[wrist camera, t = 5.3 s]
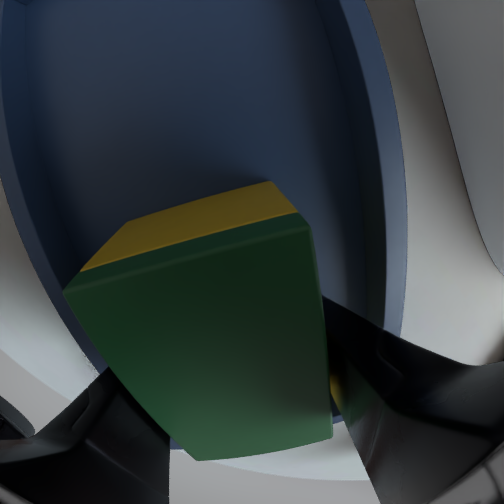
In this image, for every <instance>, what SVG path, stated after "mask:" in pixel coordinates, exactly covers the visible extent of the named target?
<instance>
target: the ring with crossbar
mask: <svg viewBox="0 0 504 504" xmlns="http://www.w3.org/2000/svg"><path fill="white" fill-rule="evenodd" d="M414 1H415V5H416V8H417V12H418V15H419V19H420V22H421V26H422V29H423V33H424V36H425V39H426V43H427V46H428V50H429V53H430V57H431V60H432V63H433V67H434V70H435V74H436V78H437V81H438V85H439V88H440V92H441V95H442V99H443V103H444V106H445V110H446V113H447V117H448V121H449V125H450V129H451V132H452V136H453V139H454V143H455V147H456V151H457V155H458V158H459V162H460V166H461V170H462V174H463V177H464V181H465V184H466V188H467V192H468V195H469V199H470V202H471V205H472V209H473V212H474V215H475V218H476V221H477V225H478V228H479V230H480V233H481V236H482V239H483V241H484V244H485V246H486V248H487V251H488V253H489V255H490V257H491V258H492V260H493V262H494V264H495V265H496V267H497V268H498V269H499V271H500V272H501V273H502V274H503V275H504V0H414Z"/></svg>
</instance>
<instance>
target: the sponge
mask: <svg viewBox="0 0 504 504" xmlns="http://www.w3.org/2000/svg"><path fill="white" fill-rule="evenodd" d="M63 296H64V297H65V299H66V301H67V303H68V305H69V306H70V308H71V310H72V311H73V313H74V315H75V316H76V318H77V320H78V321H79V323H80V325H81V326H82V328H83V329H84V331H85V332H86V334H87V336H88V337H89V339H90V340H91V342H92V343H93V345H94V346H95V347H96V349H97V350H98V352H99V353H100V355H101V356H102V357H103V359H104V360H105V362H106V363H107V364H108V366H109V367H110V368H111V370H112V371H113V372H114V374H115V375H116V376H117V377H118V379H119V380H120V381H121V383H122V384H123V385H124V386H125V387H126V389H127V390H128V391H129V392H130V394H131V395H132V396H133V397H134V398H135V399H136V401H137V402H138V403H139V404H140V405H141V406H142V407H143V409H144V410H145V411H146V412H147V413H148V414H149V415H150V416H151V417H152V418H153V419H154V421H155V422H156V423H157V424H158V425H159V426H160V427H161V428H162V429H163V430H164V431H165V432H166V433H167V434H168V435H169V436H170V437H171V438H172V439H173V440H174V441H175V442H176V443H177V444H178V445H179V446H181V447H182V448H183V449H184V450H185V451H186V452H187V453H188V454H189V455H190V456H192V457H193V458H194V459H195V460H197V461H205V460H218V459H229V458H238V457H245V456H252V455H259V454H265V453H271V452H276V451H281V450H286V449H291V448H295V447H299V446H304V445H308V444H312V443H315V442H319V441H323V440H326V439H330V438H332V437H333V420H332V401H331V385H330V372H329V360H328V349H327V339H326V329H325V320H324V311H323V303H322V295H321V288H320V280H319V273H318V266H317V259H316V253H315V247H314V240H313V234H312V228H311V227H310V225H309V224H308V223H307V221H306V220H305V219H304V218H303V217H302V215H301V214H300V213H299V212H298V211H297V210H296V208H295V207H294V206H293V205H292V204H291V203H290V201H289V200H288V199H287V198H286V197H285V196H284V195H283V193H282V192H281V191H280V190H279V189H278V188H277V187H276V185H275V184H274V183H273V182H272V181H266V182H262V183H258V184H254V185H250V186H246V187H242V188H239V189H235V190H231V191H227V192H223V193H220V194H216V195H213V196H209V197H205V198H202V199H198V200H195V201H192V202H188V203H185V204H182V205H178V206H175V207H172V208H168V209H165V210H162V211H159V212H156V213H153V214H149V215H146V216H143V217H140V218H137V219H134V220H131V221H128V222H126V223H125V224H124V225H123V226H122V227H121V228H120V229H119V230H118V231H117V232H116V233H115V234H114V235H113V236H112V237H111V238H110V239H109V240H108V241H107V242H106V243H105V244H104V245H103V246H102V247H101V248H100V250H99V251H98V252H97V253H96V254H95V255H94V256H93V257H92V258H91V259H90V260H89V261H88V262H87V263H86V265H85V266H84V267H83V268H82V269H81V270H80V272H78V273H77V275H76V276H75V277H74V278H73V279H72V280H71V281H70V283H69V284H68V285H67V286H66V287H65V288H64V290H63Z"/></svg>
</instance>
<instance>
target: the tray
mask: <svg viewBox="0 0 504 504" xmlns="http://www.w3.org/2000/svg"><path fill="white" fill-rule="evenodd" d="M0 176H1V180H2V184H3V187H4V191H5V194H6V197H7V201H8V204H9V207H10V210H11V213H12V216H13V218H14V221H15V224H16V227H17V229H18V232H19V234H20V237H21V239H22V242H23V244H24V247H25V249H26V251H27V253H28V256H29V258H30V260H31V262H32V264H33V267H34V269H35V271H36V273H37V275H38V277H39V279H40V281H41V283H42V285H43V287H44V289H45V290H46V292H47V294H48V296H49V298H50V300H51V301H52V303H53V305H54V307H55V308H56V310H57V312H58V314H59V315H60V317H61V319H62V320H63V322H64V323H65V325H66V327H67V328H68V330H69V331H70V333H71V334H72V336H73V337H74V339H75V340H76V342H77V343H78V345H79V346H80V348H81V349H82V351H83V352H84V353H85V355H86V356H87V358H88V359H89V360H90V362H91V363H92V364H93V366H94V367H95V368H96V370H97V371H98V372H99V374H101V373H102V372H103V371H104V370H105V369H106V368H107V367H108V364H107V363H106V362H105V360H104V359H103V357H102V356H101V355H100V353H99V352H98V350H97V349H96V347H95V346H94V345H93V343H92V342H91V340H90V339H89V337H88V336H87V334H86V332H85V331H84V329H83V328H82V326H81V325H80V323H79V321H78V320H77V318H76V316H75V315H74V313H73V311H72V310H71V308H70V306H69V305H68V303H67V301H66V299H65V297H64V296H63V290H64V288H65V287H66V286H67V285H68V284H69V283H70V281H71V280H72V279H73V278H74V277H75V276H76V275H77V273H78V272H80V270H81V269H82V268H83V267H84V266H85V265H86V263H87V262H88V261H89V260H90V259H91V258H92V257H93V256H94V255H95V254H96V253H97V252H98V251H99V250H100V248H101V247H102V246H103V245H104V244H105V243H106V242H107V241H108V240H109V239H110V238H111V237H112V236H113V235H114V234H115V233H116V232H117V231H118V230H119V229H120V228H121V227H122V226H123V225H124V224H125V223H126V222H128V221H131V220H134V219H137V218H140V217H143V216H146V215H149V214H153V213H156V212H159V211H162V210H165V209H168V208H172V207H175V206H178V205H182V204H185V203H188V202H192V201H195V200H198V199H202V198H205V197H209V196H213V195H216V194H220V193H223V192H227V191H231V190H235V189H239V188H242V187H246V186H250V185H254V184H258V183H262V182H266V181H272V182H273V183H274V184H275V185H276V187H277V188H278V189H279V190H280V191H281V192H282V193H283V195H284V196H285V197H286V198H287V199H288V200H289V201H290V203H291V204H292V205H293V206H294V207H295V208H296V210H297V211H298V212H299V213H300V214H301V215H302V217H303V218H304V219H305V220H306V221H307V223H308V224H309V225H310V227H311V228H312V234H313V240H314V247H315V253H316V259H317V266H318V273H319V280H320V288H321V294H322V295H323V296H325V297H327V298H329V299H331V300H332V301H334V302H336V303H338V304H340V305H341V306H343V307H345V308H347V309H349V310H350V311H352V312H354V313H356V314H358V315H360V316H361V317H363V318H365V319H367V320H369V321H370V322H372V323H374V324H376V325H378V326H379V327H381V328H383V329H384V330H387V331H389V332H391V333H392V334H394V335H396V336H398V337H400V333H401V326H402V317H403V309H404V298H405V286H406V270H407V198H406V182H405V170H404V160H403V151H402V143H401V136H400V129H399V123H398V117H397V111H396V106H395V101H394V96H393V91H392V87H391V83H390V78H389V74H388V70H387V66H386V63H385V59H384V55H383V52H382V49H381V45H380V42H379V39H378V36H377V33H376V30H375V27H374V24H373V21H372V18H371V16H370V13H369V10H368V8H367V5H366V3H365V0H0ZM331 401H332V420H333V424H335V423H338V422H341V421H344V420H343V418H342V416H341V414H340V411H339V409H338V407H337V405H336V403H335V401H334V398H333V396H332V394H331ZM170 449H183V448H182V447H181V446H179V445H178V444H177V443H176V442H175V441H174V440H173V439H172V438H171V437H170Z"/></svg>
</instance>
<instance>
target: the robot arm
mask: <svg viewBox="0 0 504 504" xmlns="http://www.w3.org/2000/svg"><path fill="white" fill-rule="evenodd" d="M321 295H322V294H321ZM322 303H323V311H324V320H325V329H326V339H327V349H328V360H329V372H330V385H331V394H332V396H333V398H334V401H335V403H336V405H337V407H338V409H339V411H340V414H341V416H342V418H343V420H344V422H345V425H346V427H347V429H348V431H349V433H350V436H351V438H352V440H353V442H354V445H355V447H356V449H357V451H358V453H359V456H360V458H361V460H362V462H363V465H364V467H365V469H366V472H367V474H368V476H369V478H370V481H371V483H372V485H373V487H374V490H375V492H376V494H377V496H378V499H379V501H380V503H381V504H504V361H501V362H497V363H492V364H487V365H481V366H473V365H467V364H463V363H460V362H457V361H454V360H452V359H449V358H447V357H444V356H441V355H439V354H436V353H434V352H431V351H429V350H426V349H424V348H422V347H419V346H417V345H415V344H412V343H410V342H408V341H406V340H404V339H402V338H400V337H398V336H396V335H394V334H392V333H391V332H389V331H387V330H384V329H383V328H381V327H379V326H378V325H376V324H374V323H372V322H370V321H369V320H367V319H365V318H363V317H361V316H360V315H358V314H356V313H354V312H352V311H350V310H349V309H347V308H345V307H343V306H341V305H340V304H338V303H336V302H334V301H332V300H331V299H329V298H327V297H325V296H323V295H322ZM169 462H170V436H169V435H168V434H167V433H166V432H165V431H164V430H163V429H162V428H161V427H160V426H159V425H158V424H157V423H156V422H155V421H154V419H153V418H152V417H151V416H150V415H149V414H148V413H147V412H146V411H145V410H144V409H143V407H142V406H141V405H140V404H139V403H138V402H137V401H136V399H135V398H134V397H133V396H132V395H131V394H130V392H129V391H128V390H127V389H126V387H125V386H124V385H123V384H122V383H121V381H120V380H119V379H118V377H117V376H116V375H115V374H114V372H113V371H112V370H111V368H110V367H109V366H108V367H107V368H106V369H105V370H104V371H103V372H102V373H101V374H100V375H99V376H98V377H97V378H96V379H95V380H94V381H93V382H92V383H91V384H90V385H89V386H88V388H86V389H85V390H84V391H83V392H82V393H81V394H80V395H79V396H78V397H77V398H76V399H75V400H74V401H73V402H72V403H71V404H70V405H69V406H68V407H66V408H65V409H64V410H63V411H62V412H61V413H60V414H59V415H58V416H56V417H55V418H54V419H53V420H52V421H51V422H49V424H47V425H46V426H45V427H44V428H43V429H41V430H40V431H39V432H38V433H37V434H35V435H33V436H31V437H29V438H26V437H25V436H24V435H22V434H21V433H20V432H19V431H18V430H17V429H16V428H15V427H14V426H13V425H12V424H11V423H9V422H8V421H7V420H6V419H5V418H4V417H3V416H2V415H1V414H0V504H169V497H168V496H169Z"/></svg>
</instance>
